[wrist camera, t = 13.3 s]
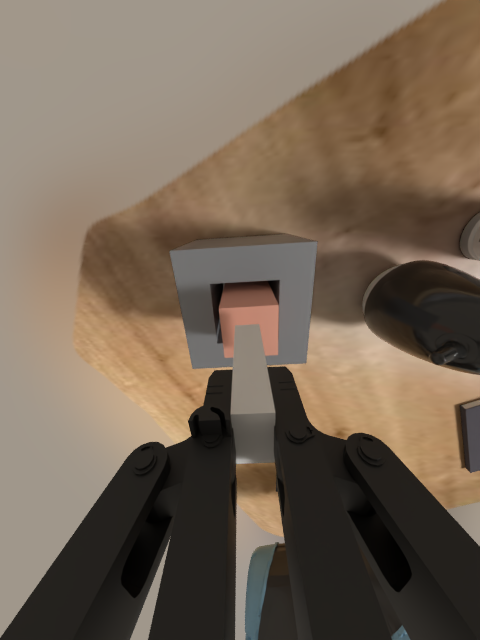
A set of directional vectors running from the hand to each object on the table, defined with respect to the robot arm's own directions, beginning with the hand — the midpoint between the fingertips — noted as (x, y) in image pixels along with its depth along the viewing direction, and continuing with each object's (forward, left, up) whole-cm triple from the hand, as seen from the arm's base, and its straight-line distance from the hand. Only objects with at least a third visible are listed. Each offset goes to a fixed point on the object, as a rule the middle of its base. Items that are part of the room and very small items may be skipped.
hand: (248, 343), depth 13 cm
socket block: (0, 0, -16) cm, 16 cm away
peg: (0, 0, -12) cm, 12 cm away
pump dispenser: (-3, -20, -16) cm, 25 cm away
